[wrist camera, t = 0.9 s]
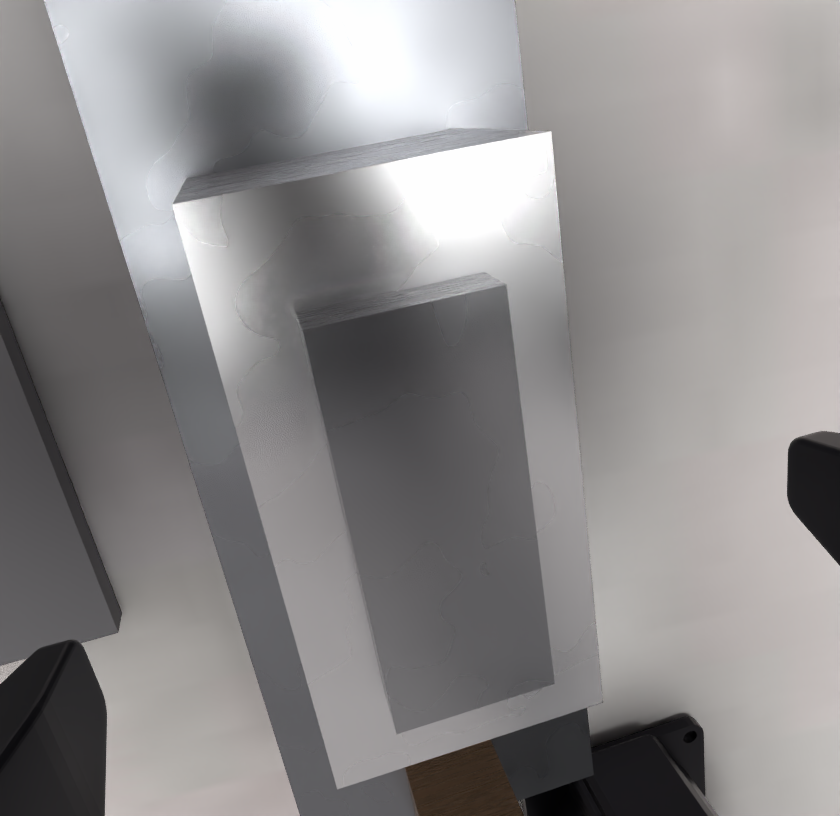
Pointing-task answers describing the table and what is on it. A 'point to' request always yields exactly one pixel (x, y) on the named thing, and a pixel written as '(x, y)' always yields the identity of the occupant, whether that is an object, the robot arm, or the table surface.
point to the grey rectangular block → (408, 431)
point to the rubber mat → (42, 529)
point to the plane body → (181, 311)
